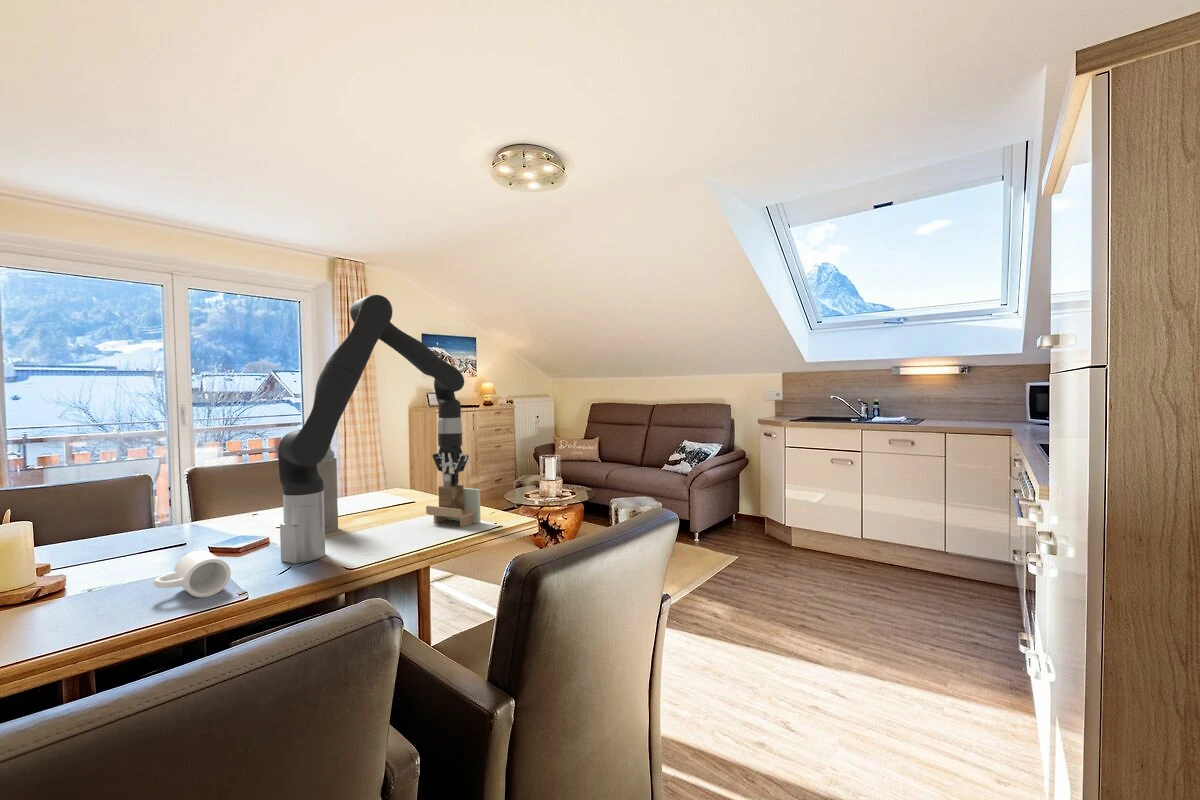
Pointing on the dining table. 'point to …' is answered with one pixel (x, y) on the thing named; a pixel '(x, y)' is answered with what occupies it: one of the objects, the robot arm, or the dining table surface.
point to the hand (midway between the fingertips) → (450, 484)
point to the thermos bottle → (329, 490)
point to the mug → (197, 574)
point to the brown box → (451, 494)
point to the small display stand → (464, 516)
